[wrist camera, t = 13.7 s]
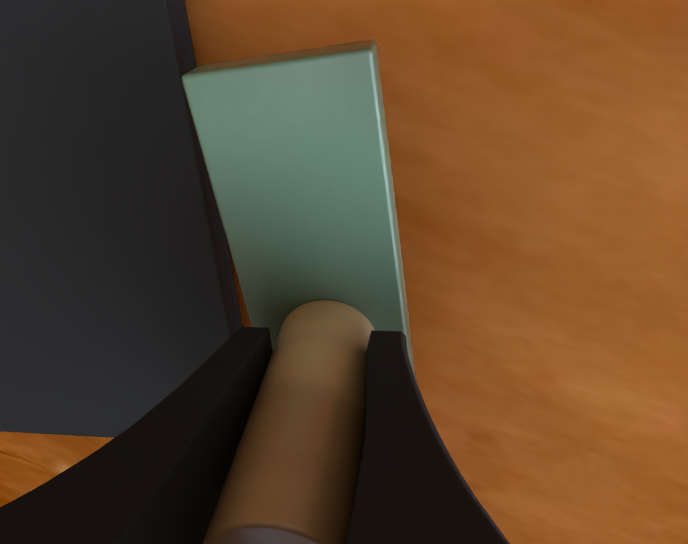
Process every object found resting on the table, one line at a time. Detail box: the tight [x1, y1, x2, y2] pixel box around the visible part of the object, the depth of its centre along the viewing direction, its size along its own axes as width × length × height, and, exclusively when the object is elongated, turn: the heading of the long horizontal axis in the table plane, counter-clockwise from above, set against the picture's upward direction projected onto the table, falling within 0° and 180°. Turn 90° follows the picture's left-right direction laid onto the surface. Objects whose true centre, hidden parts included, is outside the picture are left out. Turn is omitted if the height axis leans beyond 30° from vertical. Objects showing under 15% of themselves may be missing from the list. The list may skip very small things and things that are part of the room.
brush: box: [182, 40, 417, 544], centre depth 12 cm, size 12×4×8 cm, turn 9°
